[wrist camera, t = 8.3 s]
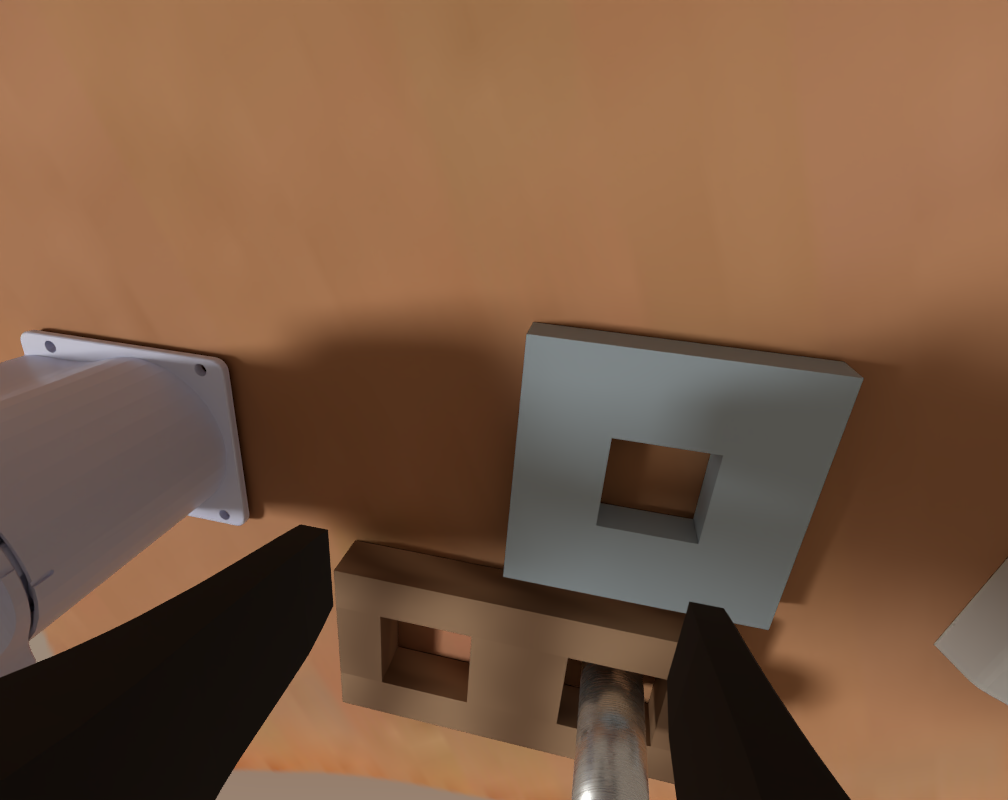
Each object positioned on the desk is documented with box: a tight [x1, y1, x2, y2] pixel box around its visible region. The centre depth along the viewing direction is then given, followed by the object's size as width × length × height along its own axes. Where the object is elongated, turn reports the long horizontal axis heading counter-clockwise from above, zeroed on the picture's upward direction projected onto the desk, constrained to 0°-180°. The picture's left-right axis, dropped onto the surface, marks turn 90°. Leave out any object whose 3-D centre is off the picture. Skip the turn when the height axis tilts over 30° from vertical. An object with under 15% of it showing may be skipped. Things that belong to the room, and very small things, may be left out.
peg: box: [572, 661, 649, 800], centre depth 20 cm, size 3×3×7 cm
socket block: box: [503, 322, 864, 630], centre depth 19 cm, size 10×10×2 cm
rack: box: [334, 540, 686, 784], centre depth 23 cm, size 16×8×2 cm, turn 85°
